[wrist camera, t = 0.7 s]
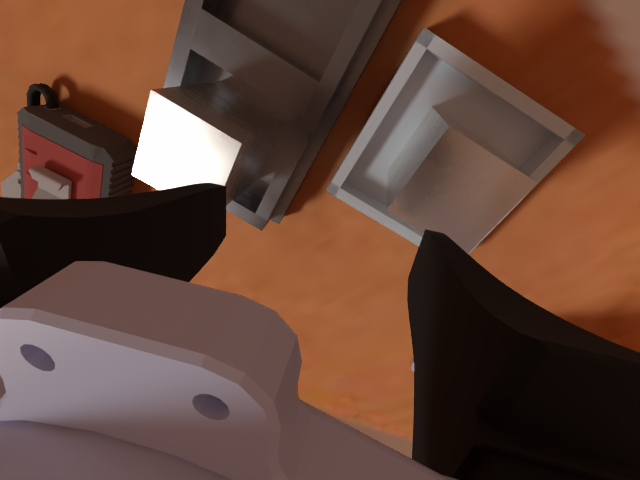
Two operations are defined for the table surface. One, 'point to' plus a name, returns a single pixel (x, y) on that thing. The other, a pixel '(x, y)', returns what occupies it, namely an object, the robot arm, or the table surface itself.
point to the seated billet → (204, 138)
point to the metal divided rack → (281, 75)
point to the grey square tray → (459, 105)
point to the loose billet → (453, 182)
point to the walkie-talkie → (67, 154)
